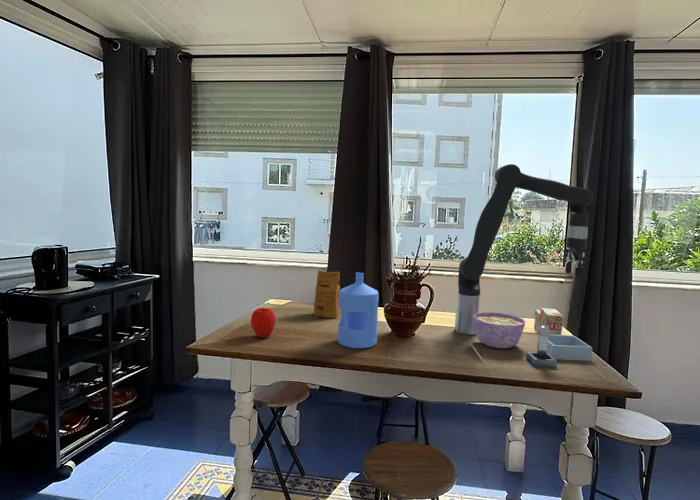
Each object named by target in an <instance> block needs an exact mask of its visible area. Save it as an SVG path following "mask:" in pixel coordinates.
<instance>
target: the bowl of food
mask: <svg viewBox="0 0 700 500" xmlns="http://www.w3.org/2000/svg"><path fill="white" fill-rule="evenodd" d="M473 320H474V326H475V332H476V334H475V335H476V338H477V340H478V341H479V342H480V343H482V344H483V345H484V346H487V347H491V348H495V349H510V348H513V347H515V346H517V344H518V343H519V342H520V339H521V337H522V335H523V331H524V329H525V326H526V322H527V321H526V320H525V319H524V318H522V317H519V316H516V315H513V314H509V313H502V312H496V311H495V312H494V311H492V312H491V311H484V312H479V313H476V314H474V315H473Z"/></svg>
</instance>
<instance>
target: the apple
mask: <svg viewBox="0 0 700 500" xmlns="http://www.w3.org/2000/svg"><path fill="white" fill-rule="evenodd" d="M250 325H251V329H252V330H253V332H254V333H255V334H256V335H257V337H258V338H261V339H267V338H269V337H270V336H271V334H272V333H273V331H274V330H275V329H274V328H275V326H276V315H275V313H274V311H273V310H272V309H271V308H266V307H258V308H257V309H255V310H254V311H253V312H252V314H251V318H250Z"/></svg>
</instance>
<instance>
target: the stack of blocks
mask: <svg viewBox="0 0 700 500" xmlns="http://www.w3.org/2000/svg"><path fill="white" fill-rule="evenodd" d="M563 322H564V316H563V315H562V313H560V311H558V309H556V308H546V307H540V309H535V311H534V326H533V327H534V330H535V332H536V333H537V334H538V328H539V327H540V326H546V327H548V328H549V330H550V334H549V335H562V331H563Z"/></svg>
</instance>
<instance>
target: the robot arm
mask: <svg viewBox="0 0 700 500" xmlns="http://www.w3.org/2000/svg"><path fill="white" fill-rule="evenodd" d="M494 179H495V182H496V184H495V188H494V190H493V193H492V194H491V197H490V198H489V199H488V201H487V203H486V204H485V206H484V208H483V209H482V211H481V213H480V215H479V218H478V221H477V223H476V227H475V230H474V231H475V232H474V236H473V242H472V246H471V247H470V248H471V249H470V252H469V254H468V255H467V257H464V258H462V260H461V261H460V262H459V266H458V281H457V285H458V287H457V288H458V291H457V293H458V295H457V306H456V309H455V319H454V331H455V332H456V333H457V334H461V335H468V336H472V335H476V332H475V326H474V320H473V315H474V314H476V313H480V301H481V299H480V298H481V285H480V284H481V282H480V280H481V279H480V278H481V276H482V275H483V273H484V270H485V266H486V263H487V259H488V255H489V253H490V250H491V248H492V247H493V245H494V242H495V239H496V238H497V235H498V233H499V231H500V227H501V225H502V223H503V220H504V217H505V214H506V212H507V209H508V206H509V202H510V200H511V198H512V196H513V193H514V192H515V189H516V188H517V189H520V190H525V191H529V192H532V193H536V194H539V195H541V196H545V197H548V198H550V199H553V200H558V201H563V202H564V201H566V202H568V207H569V223H568V229H567V233H566V243H565V247H566V248H564V254H563V255H564V256H563V263H564V264H565V270H564V271H565V272H564V273H566V274H572V268H573V267H572V266H573V263H574V265H575V271H574V277H577V278H580V277H582V269H583V268H586V264H587V252H583V250H586V248H587V244H588V241H587V240H588V233H589V232H588V231H589V230H588V227H589V218H590V217H589V214H588V212H587V206H589V205H591V204H592V203H593V202H594V198H595V196H594V194H593V192H592V191H591V190H590V189H587V188H584V187H579V186H574V185H569V184H566V183H563V182H560V181H557V180H553V179H548V178H543V177H537V176H533V175H529V174H526V173H523V172H522V171H521V169H520V167H519V166H518V165H517V164H515V163H508V164H504V165H502V166H500V167H499V168H497V170H496V171H495V173H494Z"/></svg>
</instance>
